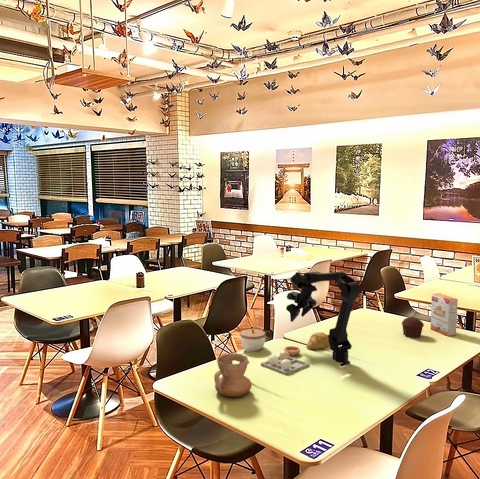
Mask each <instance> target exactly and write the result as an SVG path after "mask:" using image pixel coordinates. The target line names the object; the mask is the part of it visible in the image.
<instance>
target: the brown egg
mask: <svg viewBox="0 0 480 479" xmlns="http://www.w3.org/2000/svg"><path fill="white" fill-rule="evenodd" d="M278 357H280V359H281V360H284V359H288V360H289V358H290V357H291V355H289V353H288V352H287V351H284V350H282V351H281V352H279V355H278Z"/></svg>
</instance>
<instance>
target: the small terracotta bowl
mask: <svg viewBox="0 0 480 479" xmlns="http://www.w3.org/2000/svg"><path fill="white" fill-rule="evenodd" d="M283 351H287V352H288V353H289V355H290V357H291V356H297V355H298V354H299V353H301V348H300V347H299V346H294V345H289V346H285V347H284V349H283Z"/></svg>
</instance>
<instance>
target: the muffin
mask: <svg viewBox="0 0 480 479" xmlns="http://www.w3.org/2000/svg"><path fill="white" fill-rule="evenodd" d="M401 325H402V332H403V336H404V335H405V336H404V337H406V338H409V339H419V338H421V337H422V332H423V327H425V325H424V322H423V321H422V320H420V319H419V318H417V317H414V316H409V317H406V318H404V319H403V320H402V322H401Z"/></svg>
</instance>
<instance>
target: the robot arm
mask: <svg viewBox="0 0 480 479" xmlns="http://www.w3.org/2000/svg"><path fill="white" fill-rule="evenodd" d="M329 281H330V282H336V285H337V288H338V290H340V297H341V299H342V301H341V304H340V308H339V312H338V316H337V320H336V323H335V327H333V328H330V329H329V330H328V331H329V333H328V334H327V335H328V337H329V338H328V341H329V344H328V345H329V348H330V351H332V360H333V361H334V362H336V363H340V364H339V366H341V367H344V366H345V365H348V364H350V363H351V361H350V360H349V350H351V349H352V347H353V346H352V344H351V342H350V341H349V339H348V337H349V336H348V331H347V329H348V328H347V327H348V324H349V321H350V317H351V312H352V309H353V305H354V302H355V301H356V300H357V299H358V298H359V296H360V294H361V290H362V288H361V285H360V284H359V283H358V282H357V281H356V280H355V279H354V278H352V277H351V276H349V275H347V273H346V272H344V271H337V272H335V271H334V272H321V271H317V270H316V271H315V270H314V271H309V272H304V274H303V275H302V273H301V272H300V271H298V272H295V273H294V274H293V275H292V276H291V277H290V283H291V284H292V285H293V286H295V287H296V288H297V289H299V290H300V292H297V291H290V292H287V295H286V299H287V300H289V301H290V300H291V301H293V303H290V304H288V305H286V308H285V309H286V311H288V312H289V317H290V322H291V323H293V322H294V321H295V320H296V319H297V317H298V316H301V317H302V318H303V317H304V316H306V314H309V312H310V311H311V310H312V309H313V308H314V307H316V306H317V301H316V300H315V299H314V298H313V296H312V294H313V292H317V291H318V289H317V286H316V285H313V284H318V283H321V282H329ZM300 312H301V315H300Z"/></svg>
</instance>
